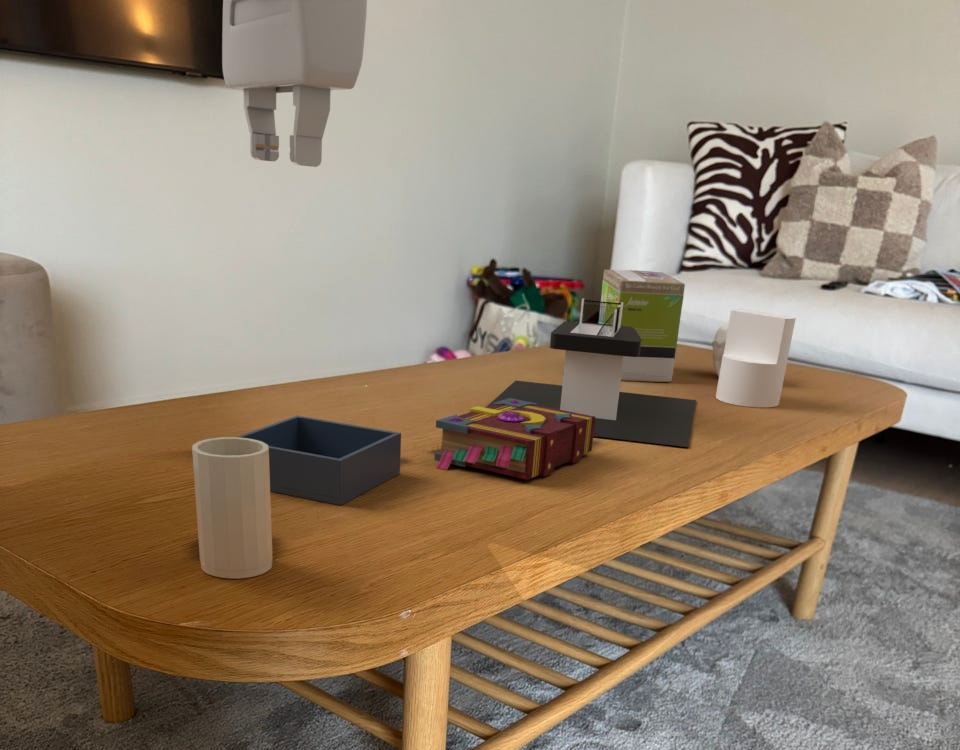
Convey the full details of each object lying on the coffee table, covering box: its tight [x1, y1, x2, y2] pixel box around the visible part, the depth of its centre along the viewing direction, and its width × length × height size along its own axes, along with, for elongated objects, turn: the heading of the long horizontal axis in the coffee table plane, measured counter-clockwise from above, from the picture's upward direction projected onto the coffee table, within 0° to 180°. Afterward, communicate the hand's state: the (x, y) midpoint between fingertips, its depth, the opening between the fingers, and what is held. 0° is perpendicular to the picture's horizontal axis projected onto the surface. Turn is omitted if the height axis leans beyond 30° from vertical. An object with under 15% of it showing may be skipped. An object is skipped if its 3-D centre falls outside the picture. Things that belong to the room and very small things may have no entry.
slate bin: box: [236, 415, 402, 506], centre depth 91 cm, size 12×12×4 cm
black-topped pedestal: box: [486, 298, 697, 448], centre depth 123 cm, size 28×26×13 cm
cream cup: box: [191, 436, 274, 580], centre depth 69 cm, size 5×5×9 cm
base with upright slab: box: [715, 308, 797, 409], centre depth 136 cm, size 9×9×12 cm
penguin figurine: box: [711, 320, 729, 378], centre depth 152 cm, size 6×8×12 cm
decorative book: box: [434, 398, 595, 481], centre depth 101 cm, size 11×16×5 cm
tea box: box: [598, 269, 686, 383], centre depth 150 cm, size 15×10×15 cm, turn 3°
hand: (284, 163), depth 69 cm, fingers open, 8 cm apart
